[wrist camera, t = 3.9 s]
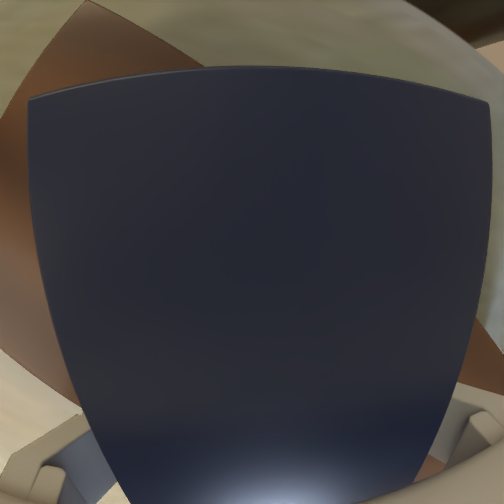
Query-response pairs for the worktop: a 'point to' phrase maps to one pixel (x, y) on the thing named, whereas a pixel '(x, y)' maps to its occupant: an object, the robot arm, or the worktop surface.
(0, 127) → the wooden serving board
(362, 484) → the navy stepped box
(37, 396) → the worktop surface
